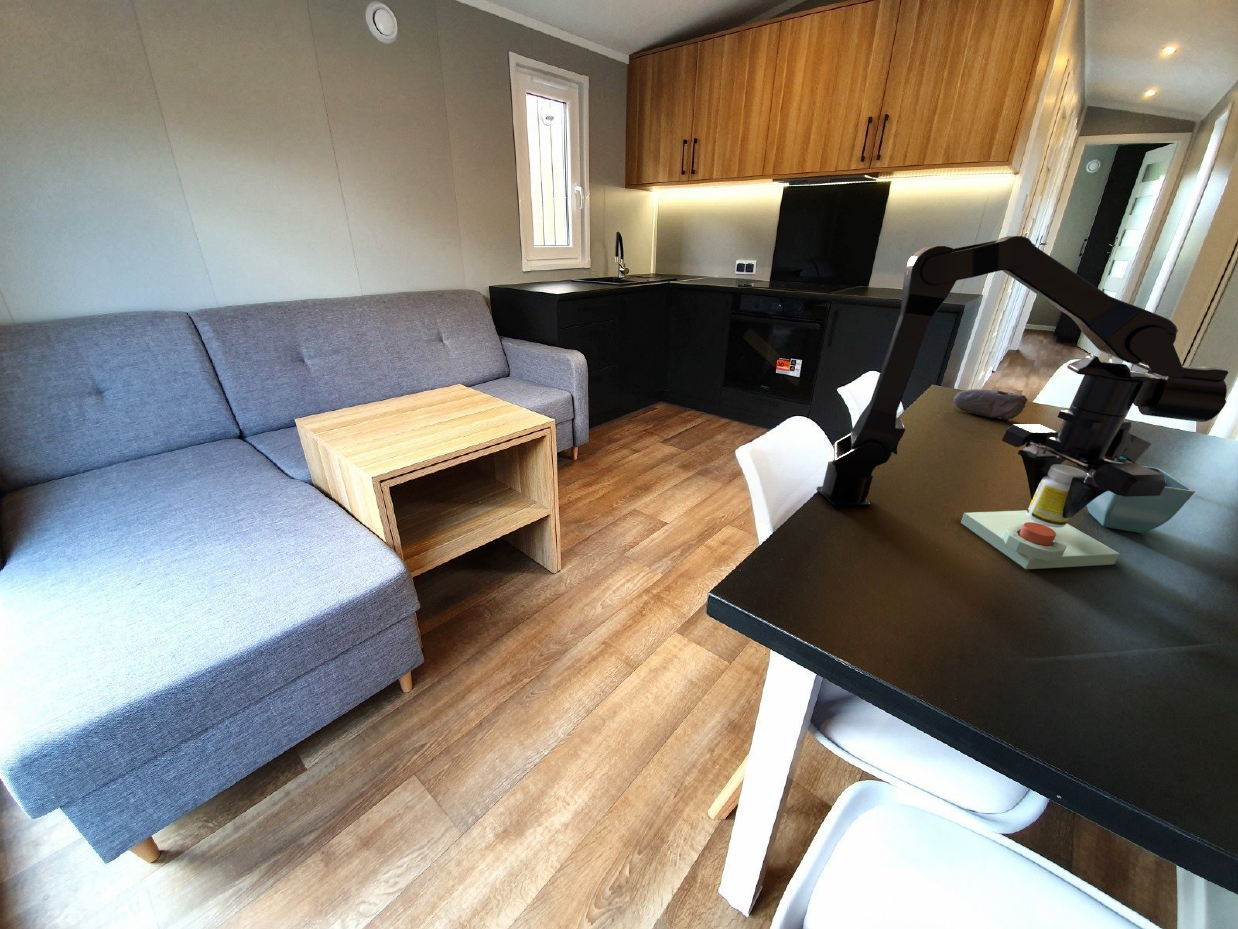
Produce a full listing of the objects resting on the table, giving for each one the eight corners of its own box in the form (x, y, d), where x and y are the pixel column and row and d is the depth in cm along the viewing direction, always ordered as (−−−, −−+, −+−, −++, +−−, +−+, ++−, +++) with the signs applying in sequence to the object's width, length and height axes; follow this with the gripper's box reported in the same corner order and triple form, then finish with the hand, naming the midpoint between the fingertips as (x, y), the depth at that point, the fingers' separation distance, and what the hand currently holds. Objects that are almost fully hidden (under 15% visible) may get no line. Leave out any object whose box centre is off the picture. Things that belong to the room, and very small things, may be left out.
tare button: (1034, 547, 66) (1039, 536, 65) (1012, 532, 69) (1017, 522, 69) (1058, 546, 67) (1063, 535, 66) (1034, 531, 70) (1039, 521, 69)
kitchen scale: (1025, 573, 66) (1035, 552, 65) (955, 523, 78) (963, 503, 76) (1119, 568, 68) (1131, 547, 66) (1038, 519, 79) (1046, 500, 78)
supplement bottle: (1072, 530, 71) (1099, 479, 67) (1036, 526, 72) (1060, 475, 68) (1053, 514, 75) (1077, 464, 72) (1019, 510, 76) (1041, 461, 73)
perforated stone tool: (947, 410, 130) (956, 385, 127) (952, 406, 134) (961, 381, 131) (1016, 425, 121) (1027, 398, 118) (1019, 420, 124) (1030, 394, 121)
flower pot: (1132, 515, 82) (1159, 467, 78) (1166, 543, 74) (1198, 491, 70) (1069, 505, 84) (1092, 458, 80) (1095, 531, 76) (1122, 480, 73)
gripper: (1234, 434, 59) (1166, 542, 65) (1083, 389, 75) (1041, 479, 82) (1154, 435, 57) (1094, 545, 64) (1019, 389, 74) (982, 480, 81)
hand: (1050, 508), depth 73 cm, fingers closed on supplement bottle, 5 cm apart
